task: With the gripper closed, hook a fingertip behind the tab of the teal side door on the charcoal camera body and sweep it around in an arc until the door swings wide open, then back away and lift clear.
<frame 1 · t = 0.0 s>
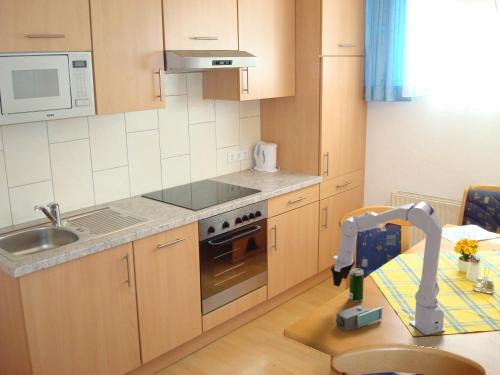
hand: (340, 281, 203), 11 cm above the table, tool pointing down, fingers open, 7 cm apart
beer can: (356, 299, 212), on the table
side door: (369, 317, 191), point 3 cm above the table, hinge at 0.0°
camera body: (358, 328, 189), on the table
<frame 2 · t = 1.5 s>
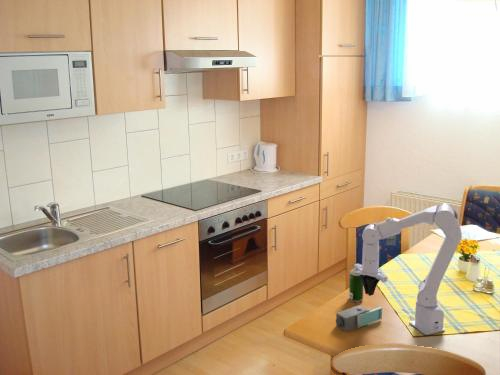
hand: (369, 294, 194), 9 cm above the table, tool pointing down, fingers closed
nothing on the table moved.
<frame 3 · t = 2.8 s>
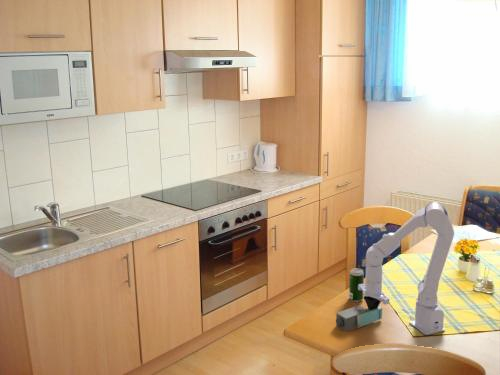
hand: (372, 315, 194), 2 cm above the table, tool pointing down, fingers closed, pressing on side door
side door: (369, 317, 191), point 3 cm above the table, hinge at 0.0°, touching gripper
everything else where it was.
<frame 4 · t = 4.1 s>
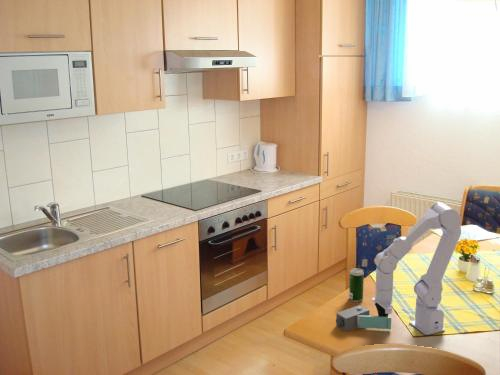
hand: (382, 323, 188), 2 cm above the table, tool pointing down, fingers closed, pressing on side door
side door: (373, 322, 187), point 3 cm above the table, hinge at 41.6°, touching gripper
everything else where it was.
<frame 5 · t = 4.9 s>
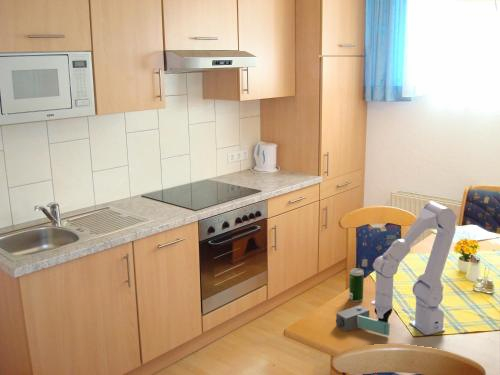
hand: (382, 328, 185), 2 cm above the table, tool pointing down, fingers closed, pressing on side door
side door: (372, 325, 185), point 3 cm above the table, hinge at 66.5°, touching gripper
everything else where it was.
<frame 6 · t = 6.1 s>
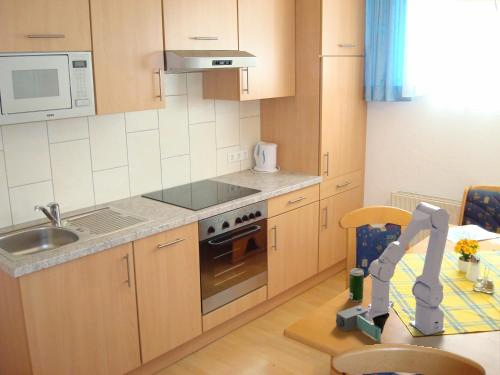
hand: (378, 332, 182), 2 cm above the table, tool pointing down, fingers closed
side door: (368, 327, 184), point 3 cm above the table, hinge at 94.4°, touching gripper
everything else where it was.
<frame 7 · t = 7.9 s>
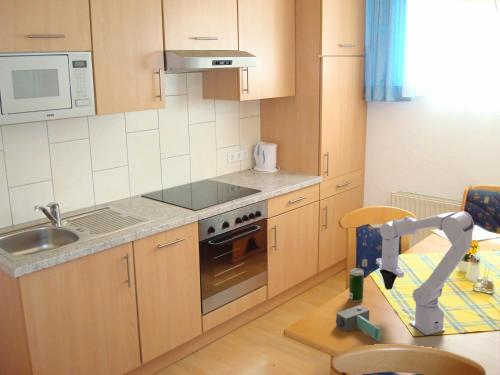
hand: (388, 288, 198), 9 cm above the table, tool pointing down, fingers closed
side door: (368, 327, 184), point 3 cm above the table, hinge at 94.5°
everything else where it was.
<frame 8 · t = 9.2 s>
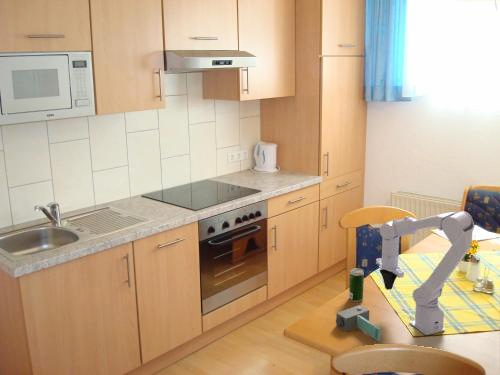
hand: (388, 288, 198), 9 cm above the table, tool pointing down, fingers closed
nothing on the table moved.
at the end: side door at +94° (first picture: +0°); beer can moved 0.2 cm from its start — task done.
